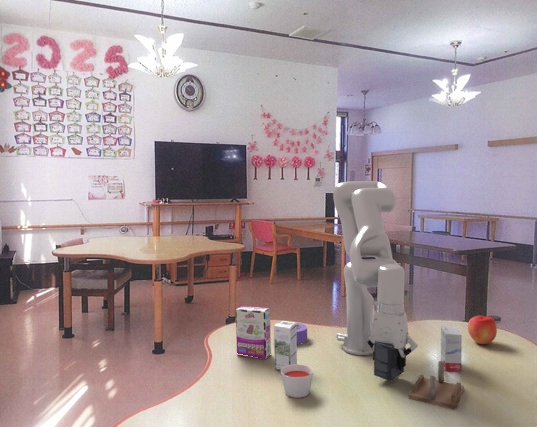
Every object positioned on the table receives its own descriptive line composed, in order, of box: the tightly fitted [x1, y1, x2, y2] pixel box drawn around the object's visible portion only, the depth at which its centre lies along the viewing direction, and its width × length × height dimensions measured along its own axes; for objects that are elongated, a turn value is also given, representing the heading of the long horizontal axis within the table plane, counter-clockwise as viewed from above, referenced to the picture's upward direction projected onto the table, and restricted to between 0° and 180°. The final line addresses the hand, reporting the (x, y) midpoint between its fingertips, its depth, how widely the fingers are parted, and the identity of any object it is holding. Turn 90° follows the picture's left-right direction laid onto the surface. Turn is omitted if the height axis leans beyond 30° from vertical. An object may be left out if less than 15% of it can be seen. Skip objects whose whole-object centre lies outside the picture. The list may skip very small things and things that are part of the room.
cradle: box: [408, 360, 465, 410], centre depth 124 cm, size 12×13×7 cm
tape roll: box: [295, 322, 308, 345], centre depth 169 cm, size 12×12×5 cm
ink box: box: [440, 325, 463, 373], centre depth 142 cm, size 9×5×12 cm, turn 168°
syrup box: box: [273, 320, 298, 371], centre depth 142 cm, size 6×6×14 cm
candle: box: [280, 363, 314, 399], centre depth 126 cm, size 9×9×6 cm
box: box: [373, 341, 405, 382], centre depth 132 cm, size 8×6×11 cm
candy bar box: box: [235, 305, 272, 360], centre depth 154 cm, size 11×5×16 cm, turn 68°
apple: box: [467, 315, 498, 345], centre depth 162 cm, size 10×10×10 cm
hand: (389, 365), depth 132 cm, fingers closed on box, 6 cm apart
